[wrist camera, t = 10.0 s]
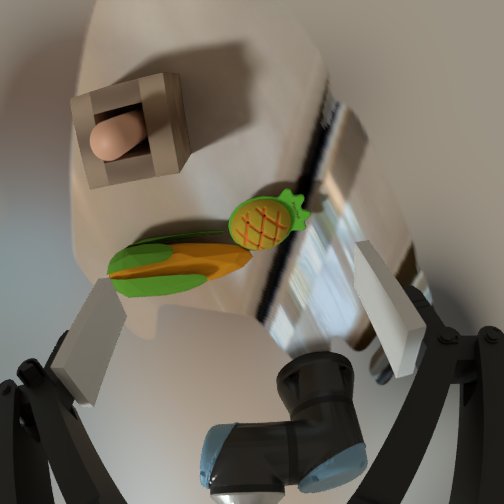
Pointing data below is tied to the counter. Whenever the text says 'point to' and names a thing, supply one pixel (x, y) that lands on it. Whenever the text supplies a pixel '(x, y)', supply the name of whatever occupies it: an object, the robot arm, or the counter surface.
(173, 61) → the counter surface
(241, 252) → the corn
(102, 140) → the peg
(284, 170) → the counter surface
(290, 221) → the toy pineapple
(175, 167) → the socket block
